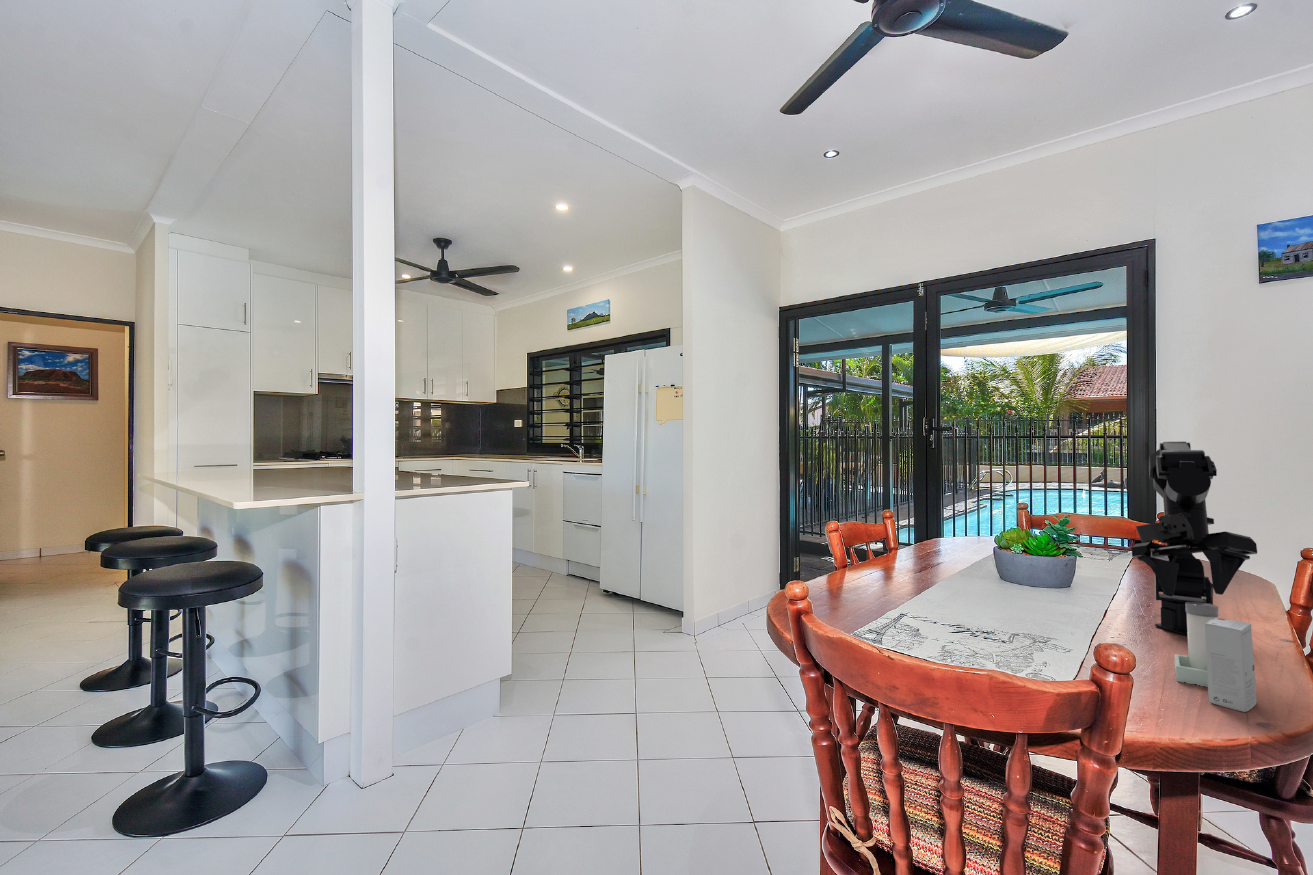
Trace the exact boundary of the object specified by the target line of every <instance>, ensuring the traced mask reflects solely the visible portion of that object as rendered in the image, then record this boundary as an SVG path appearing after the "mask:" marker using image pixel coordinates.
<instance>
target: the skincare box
mask: <svg viewBox="0 0 1313 875" xmlns="http://www.w3.org/2000/svg"><path fill="white" fill-rule="evenodd" d="M1252 631H1253V630H1252V624H1251V623H1249V622H1244V621H1239V620H1232V619H1226V618H1225V619H1224V618H1219V617H1218V618H1215V619H1213V620H1209V622H1207V623H1205V641H1206V657H1207V677H1208V687H1207V692H1208V693H1207V694H1208V701H1209V703H1211V704H1213V705H1217V706H1220V707H1222V708H1223V707H1224V708H1227V709H1231V710H1234V711H1239V712H1242V713H1243V712H1244V713H1246V712H1249V711H1250V710H1251V709H1253V708H1254V707H1255V706H1256V704H1257V687H1256V672H1255V660H1254V659H1255V658H1254V644H1253V634H1252V633H1253V632H1252Z"/></svg>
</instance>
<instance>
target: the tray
mask: <svg viewBox="0 0 1313 875" xmlns="http://www.w3.org/2000/svg"><path fill="white" fill-rule="evenodd" d="M1174 671H1175V679H1176V682H1180V683H1184V682H1186V683H1185V684H1190V685H1194V684H1197V685H1196V686H1199V685H1200V687H1204V686H1205V688H1208V677H1207V671H1205V670H1200V669H1194V668H1189V658H1188V655H1183V654H1176V653H1174Z"/></svg>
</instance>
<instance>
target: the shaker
mask: <svg viewBox="0 0 1313 875" xmlns="http://www.w3.org/2000/svg"><path fill="white" fill-rule="evenodd" d="M1185 607H1186V612H1187V635H1186V636H1187V652H1188V653H1187V654H1188V655H1187V656H1188V658H1189V668H1194V669H1200V670H1205V671H1207V657H1206V641H1205V623H1207V622H1209V620H1213V619H1215V618H1219V616H1220V614H1219V613H1220V612H1219V606H1218V605H1216V604H1213V605H1212V604H1207V603H1200V602H1186V603H1185Z"/></svg>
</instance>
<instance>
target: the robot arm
mask: <svg viewBox="0 0 1313 875" xmlns="http://www.w3.org/2000/svg"><path fill="white" fill-rule="evenodd" d="M1191 448H1192V447H1191V442H1187V441H1163V442H1160V443H1159V448H1158V449H1157V450H1156V451H1154V452H1153V453H1152V454H1150V455H1149V457H1148V458H1149V460H1148V472H1149V473H1148V477H1149V478H1148V479H1149V480H1153V481H1152V483H1153V490H1154V491H1155V492H1157V494H1158V495H1160V496H1161V497H1162V499H1163V515H1160V516H1159V517H1158V522H1154V523H1153V522H1152V523H1147V524H1142V525H1136V526H1135V529H1136V531H1137V533H1138V537H1139V540H1140V541H1141V543H1140V542H1139V543H1135V544H1134V545H1132V546H1131V557H1132V558H1135V559H1137V560H1138V561H1139V562H1140V563H1145V564H1146V565H1147V566H1148V567H1150V569H1151V570H1152V572H1153V573H1154V598H1155V601H1161V602H1160V603H1161V605H1160V606H1161V607H1160V623H1159V622H1158V623H1154V627H1156V628H1159V629H1164V630H1167V631H1170V632H1173V633H1177V634H1181V635H1184V636H1188V635H1187V612H1186V607H1185V603H1186V602H1200V603H1207V604H1212V605H1214V593H1215V594H1216V595H1222V596H1223V595H1224V593H1225V592H1226V591H1227V589H1228V586H1229V585H1230V583H1231V581H1232V580H1233V578H1234V576H1235V575H1236V573H1237V572H1238V571H1239V569H1240V568H1241V567H1242V565H1243V564H1244V563H1245V561H1247V560H1250V559H1251V556H1250V555H1257V554H1258V548H1257V546H1258V545H1257V543H1256V542H1255V541H1254V539H1253V538H1252V537H1250V536H1247V535H1244V534H1243V535H1242V534H1239V533H1233V532H1230V531H1219V532H1213V533H1212V532H1211V533H1210V532H1209V526H1210V525H1215V519H1214V518H1212V517H1209V516H1208V512H1207V504H1206V499H1207V497H1208V494H1209V491H1210V488H1211V485H1212V484H1211V483H1212V480H1213V478H1214V477H1216V476H1217V475H1218V472H1217V471H1218V470H1217V468H1216V465H1215V462H1214V461H1213V460H1212V459H1211V457H1210V455H1206V453H1205V451H1204V450H1203V449H1197V450H1196V449H1191ZM1153 541H1157V542H1158V543H1157V542H1153ZM1197 553H1203V555H1204V556H1205V558H1206V559H1207V560H1208V561H1209V565H1210V566H1209V567H1210V575H1211V580H1210V578H1209V576H1206V575H1205V568H1204V565H1203V562H1202V561H1201V560H1200V558H1197V557H1196V556H1194V555H1193V554H1197Z"/></svg>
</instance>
